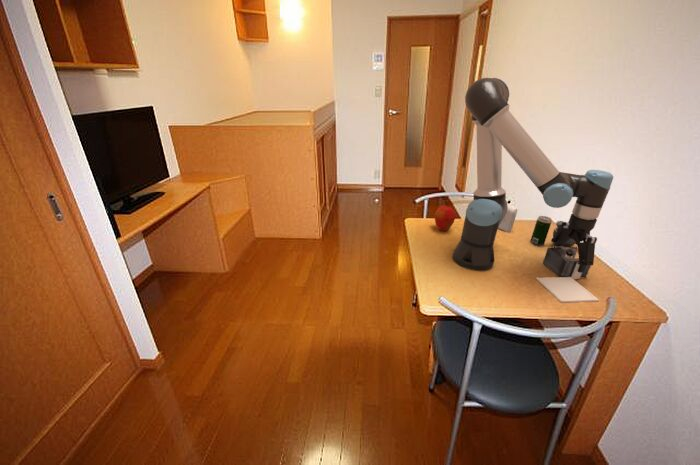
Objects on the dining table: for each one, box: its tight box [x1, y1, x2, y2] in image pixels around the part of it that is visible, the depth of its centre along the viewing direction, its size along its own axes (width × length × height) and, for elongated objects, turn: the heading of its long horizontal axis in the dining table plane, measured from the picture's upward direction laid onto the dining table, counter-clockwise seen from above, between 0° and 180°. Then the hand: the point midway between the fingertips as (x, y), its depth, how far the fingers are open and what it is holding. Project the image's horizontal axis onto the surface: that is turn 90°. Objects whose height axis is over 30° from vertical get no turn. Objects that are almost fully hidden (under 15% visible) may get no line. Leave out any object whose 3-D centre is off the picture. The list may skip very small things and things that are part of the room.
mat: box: [535, 276, 599, 303], centre depth 108 cm, size 13×13×1 cm
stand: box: [565, 249, 574, 258], centre depth 118 cm, size 4×4×9 cm
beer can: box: [530, 215, 552, 247], centre depth 136 cm, size 5×5×12 cm
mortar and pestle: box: [552, 220, 576, 247], centre depth 134 cm, size 11×9×12 cm
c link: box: [542, 246, 591, 278], centre depth 118 cm, size 10×10×7 cm
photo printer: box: [498, 203, 518, 233], centre depth 150 cm, size 10×4×12 cm, turn 35°
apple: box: [434, 205, 456, 232], centre depth 146 cm, size 9×9×12 cm
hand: (563, 269), depth 120 cm, fingers open, 11 cm apart
